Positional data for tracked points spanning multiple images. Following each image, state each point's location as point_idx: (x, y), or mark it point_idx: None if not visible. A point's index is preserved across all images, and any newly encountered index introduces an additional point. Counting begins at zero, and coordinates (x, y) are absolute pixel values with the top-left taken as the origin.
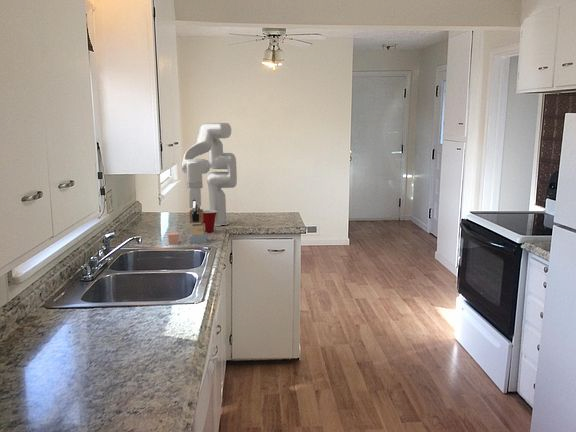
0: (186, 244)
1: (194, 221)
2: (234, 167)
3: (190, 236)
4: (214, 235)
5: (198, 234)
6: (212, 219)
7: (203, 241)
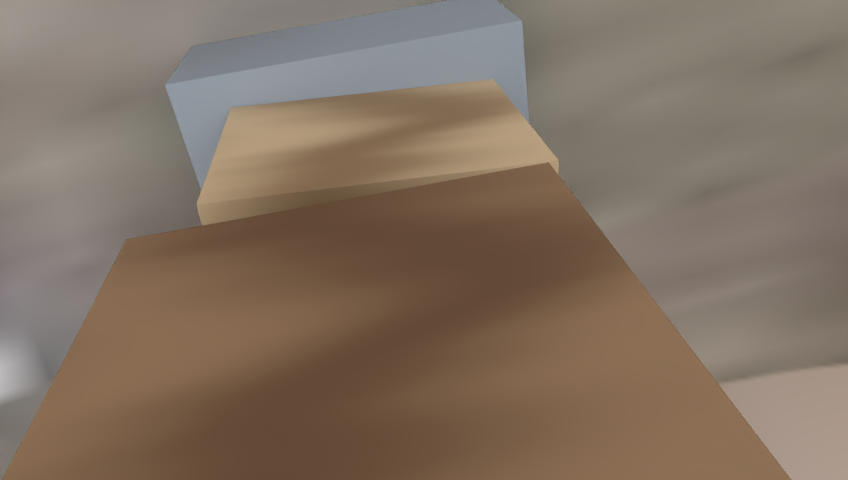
0: (81, 5)
1: None
2: None
3: (172, 100)
4: (752, 271)
5: None
6: None
7: None
